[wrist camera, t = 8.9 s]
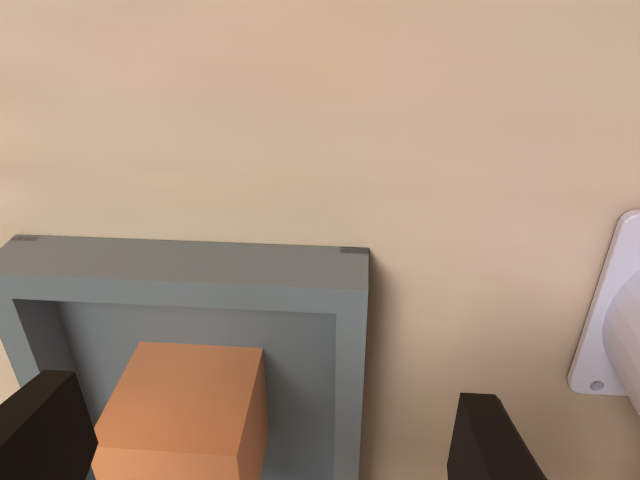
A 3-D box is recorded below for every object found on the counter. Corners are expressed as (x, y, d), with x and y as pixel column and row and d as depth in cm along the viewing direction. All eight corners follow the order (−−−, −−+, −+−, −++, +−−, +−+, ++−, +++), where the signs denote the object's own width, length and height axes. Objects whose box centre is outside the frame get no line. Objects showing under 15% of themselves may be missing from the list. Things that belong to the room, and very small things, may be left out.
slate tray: (368, 247, 19) (368, 290, 17) (355, 503, 27) (354, 554, 25) (15, 234, 20) (-26, 273, 18) (102, 485, 28) (80, 533, 26)
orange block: (262, 348, 22) (236, 456, 17) (269, 432, 24) (247, 544, 20) (139, 341, 22) (84, 446, 18) (159, 425, 25) (114, 534, 20)
